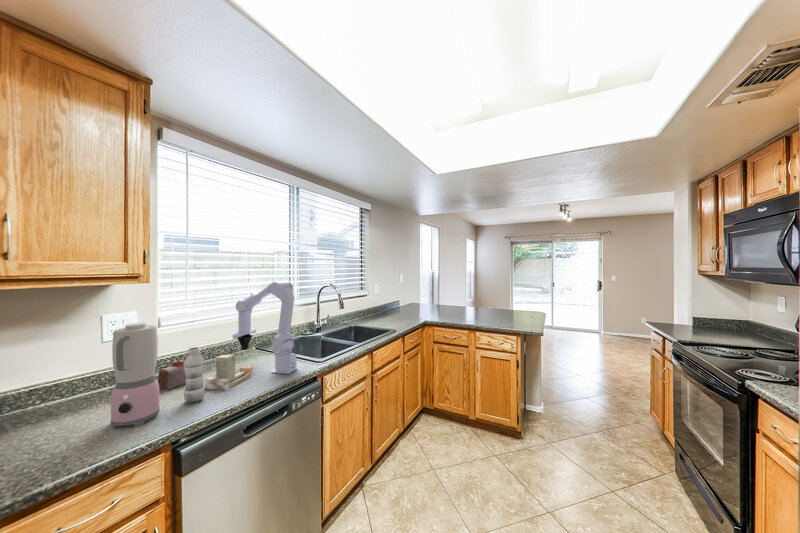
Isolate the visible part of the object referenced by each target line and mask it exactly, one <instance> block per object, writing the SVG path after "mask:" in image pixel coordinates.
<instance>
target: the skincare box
mask: <svg viewBox="0 0 800 533" xmlns="http://www.w3.org/2000/svg"><path fill="white" fill-rule="evenodd" d="M235 356H236V355H235V354H221V355H219V356H216V357H215V378H223V379H229V383H231V382H233V381H235V380H236V378H235V375H236V366H235V364H236V362H235V361H236V360H235Z"/></svg>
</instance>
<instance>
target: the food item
mask: <svg viewBox="0 0 800 533" xmlns="http://www.w3.org/2000/svg"><path fill="white" fill-rule="evenodd" d="M157 381H158V384H159V390H165V391H168V390H171V389H174V388H176V387H178V386H185V384H186V377H185V370H184V361H175V362H172V364H171V365H170V366H167V367H165V368H161V369H159V371H158V380H157Z"/></svg>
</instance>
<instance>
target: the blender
mask: <svg viewBox="0 0 800 533" xmlns="http://www.w3.org/2000/svg"><path fill="white" fill-rule="evenodd" d="M158 336H159V335H158V328H157V326H156V325H152V324H151V325H150V324H149V325H147V323H145V322H137V323H128V324H126V325H125V327H121V328H118V329H115V330H114V331H113V333H112V345H111V346H112V349H111V350H112V356H111V358H112V368H113V370H114V374H115V379H116V380H115V381H116V383H115V386H114V388H112V392H111V395H110V426H111V429H113V430H115V429H117V427H123V426H130V425H134V426H135V427H137V428H138V427H141V426H143V425H144V424H145V421H147V420H149V419H151V418H153V417H155V416H157V415H159V413H160V411H161V407H160V389H159V384H158V380H157V378H156V376H155V372H156V366H157V362H158V355H159V354H158V352H159V342H158V340H159V338H158ZM135 427H134V428H135Z"/></svg>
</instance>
